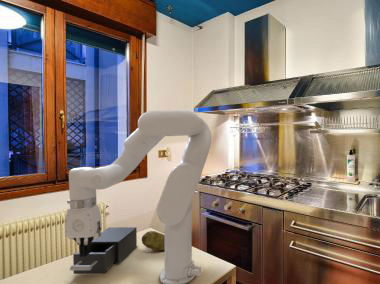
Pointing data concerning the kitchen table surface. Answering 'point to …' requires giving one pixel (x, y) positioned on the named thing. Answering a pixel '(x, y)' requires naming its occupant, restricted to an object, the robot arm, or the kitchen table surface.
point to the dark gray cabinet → (119, 240)
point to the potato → (153, 240)
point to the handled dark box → (95, 259)
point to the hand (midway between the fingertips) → (85, 254)
